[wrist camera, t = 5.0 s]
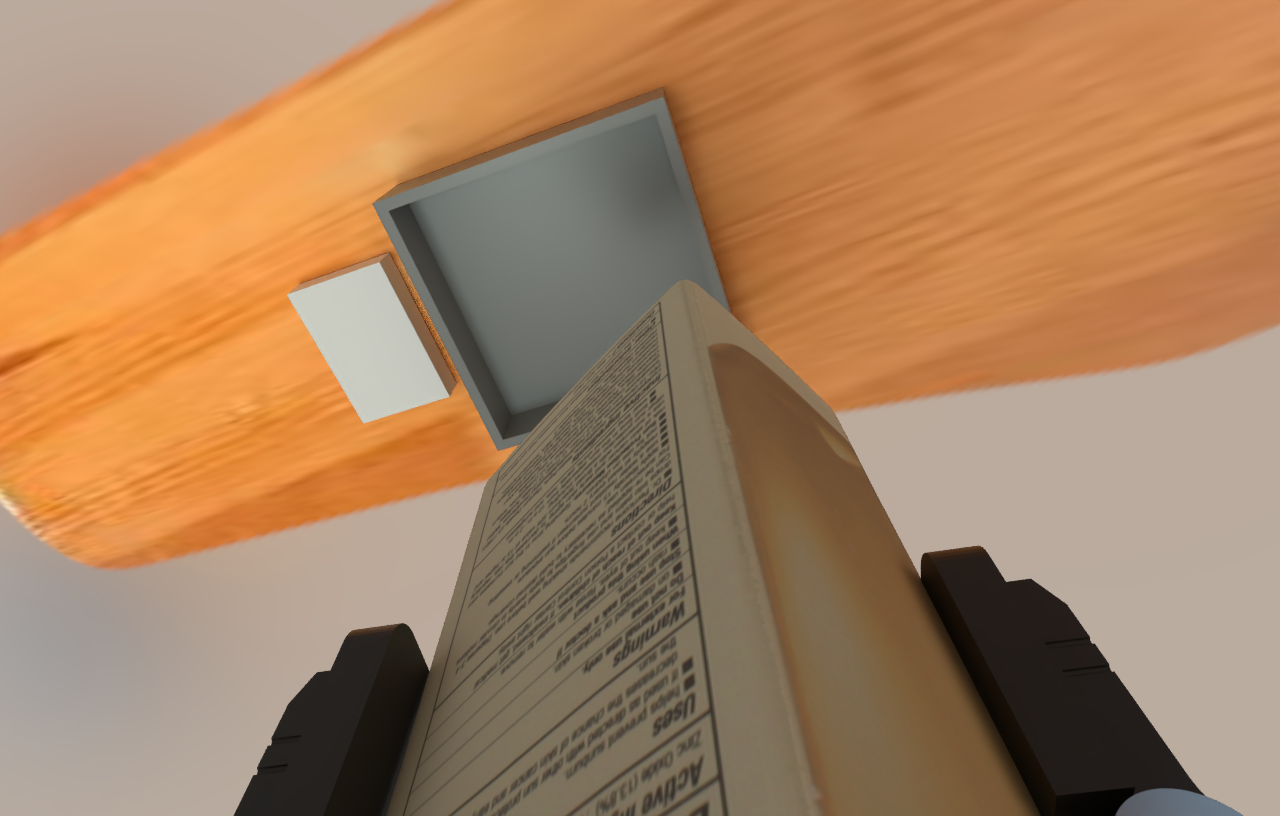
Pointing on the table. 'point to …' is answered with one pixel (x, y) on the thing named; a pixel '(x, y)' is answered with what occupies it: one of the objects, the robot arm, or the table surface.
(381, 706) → the robot arm
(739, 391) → the skincare box
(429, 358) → the grey open tray
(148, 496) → the table surface
